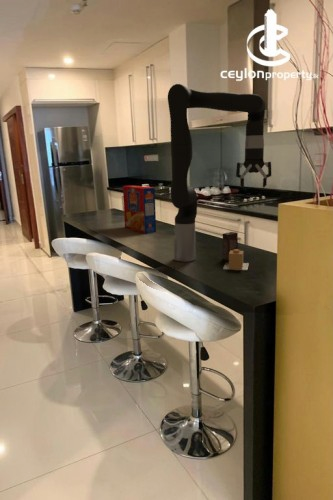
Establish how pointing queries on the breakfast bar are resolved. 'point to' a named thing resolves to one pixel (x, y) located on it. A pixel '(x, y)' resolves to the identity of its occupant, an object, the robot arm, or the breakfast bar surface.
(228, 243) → the box
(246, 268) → the square plate with peg
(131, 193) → the pasta box
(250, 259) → the breakfast bar surface
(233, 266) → the orange toy brick
